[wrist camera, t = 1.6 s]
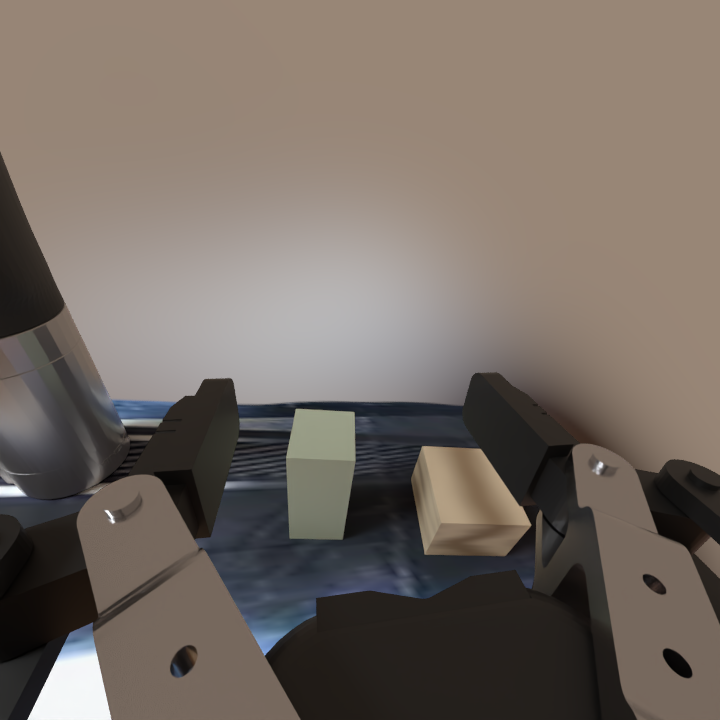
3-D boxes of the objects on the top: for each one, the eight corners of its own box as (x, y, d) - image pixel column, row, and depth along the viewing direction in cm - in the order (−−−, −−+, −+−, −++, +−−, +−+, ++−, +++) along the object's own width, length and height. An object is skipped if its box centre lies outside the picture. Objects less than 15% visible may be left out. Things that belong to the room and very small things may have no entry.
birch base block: (424, 555, 29) (441, 522, 26) (410, 479, 36) (422, 446, 32) (504, 556, 30) (531, 525, 26) (476, 482, 36) (495, 449, 33)
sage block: (289, 538, 29) (286, 457, 22) (297, 489, 33) (296, 408, 26) (342, 539, 29) (355, 460, 22) (343, 491, 33) (354, 412, 26)
